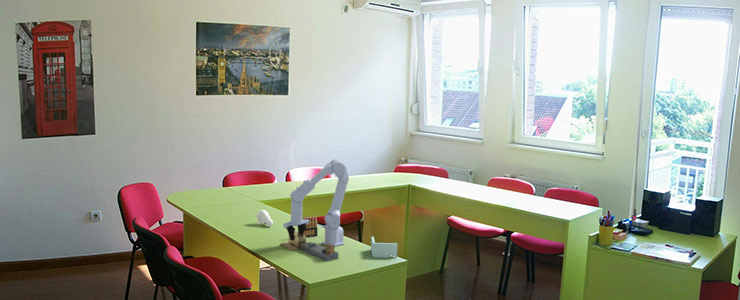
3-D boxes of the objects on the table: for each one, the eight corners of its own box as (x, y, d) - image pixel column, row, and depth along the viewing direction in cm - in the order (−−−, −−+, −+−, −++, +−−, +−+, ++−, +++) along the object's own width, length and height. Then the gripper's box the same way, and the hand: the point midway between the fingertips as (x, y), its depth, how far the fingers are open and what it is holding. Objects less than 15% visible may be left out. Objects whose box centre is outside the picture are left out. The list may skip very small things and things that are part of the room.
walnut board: (299, 241, 298) (299, 240, 298) (311, 246, 290) (311, 244, 290) (279, 245, 290) (279, 243, 290) (292, 250, 282) (292, 248, 282)
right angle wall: (396, 258, 277) (397, 243, 276) (372, 258, 276) (373, 243, 275) (394, 251, 289) (394, 237, 288) (370, 250, 288) (371, 236, 287)
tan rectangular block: (295, 240, 294) (295, 231, 293) (305, 245, 287) (306, 236, 286) (288, 242, 291) (288, 232, 290) (298, 247, 284) (298, 237, 283)
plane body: (311, 247, 288) (311, 234, 287) (338, 258, 272) (338, 244, 271) (299, 250, 283) (300, 236, 282) (326, 261, 267) (327, 247, 266)
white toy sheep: (265, 208, 332) (276, 214, 324) (264, 222, 334) (275, 228, 326) (256, 209, 328) (267, 215, 320) (255, 223, 330) (266, 229, 321)
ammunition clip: (299, 238, 303) (300, 216, 302) (298, 237, 305) (298, 215, 304) (317, 236, 309) (318, 214, 308) (316, 235, 311) (316, 214, 309)
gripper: (303, 210, 295) (302, 235, 297) (280, 213, 286) (279, 239, 287) (311, 212, 290) (310, 238, 292) (288, 216, 281) (287, 243, 282)
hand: (295, 239), depth 289 cm, fingers closed on tan rectangular block, 4 cm apart
